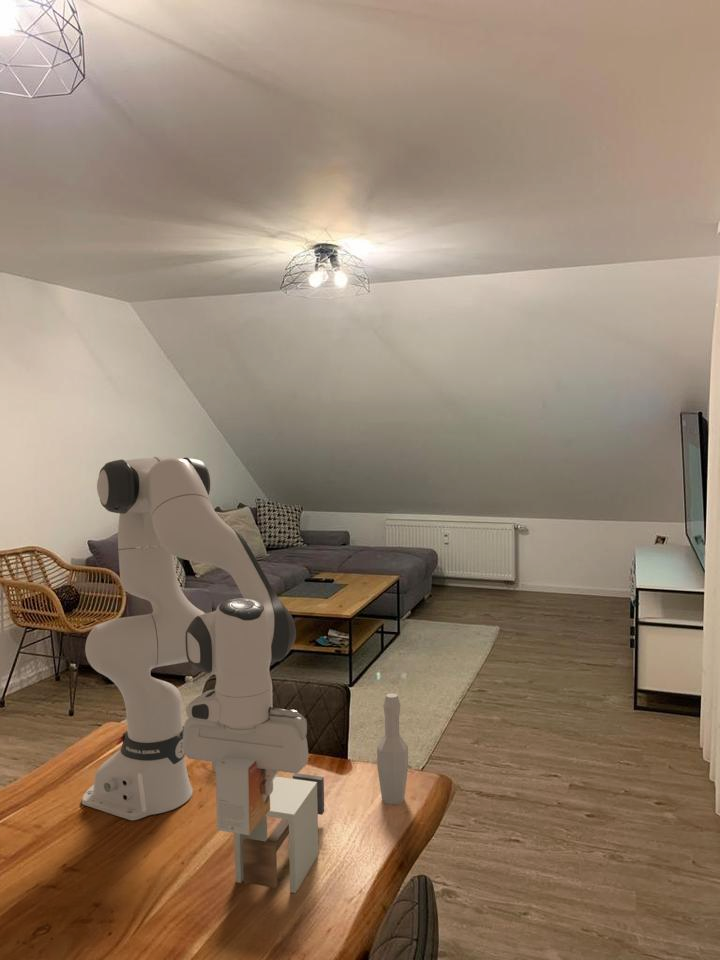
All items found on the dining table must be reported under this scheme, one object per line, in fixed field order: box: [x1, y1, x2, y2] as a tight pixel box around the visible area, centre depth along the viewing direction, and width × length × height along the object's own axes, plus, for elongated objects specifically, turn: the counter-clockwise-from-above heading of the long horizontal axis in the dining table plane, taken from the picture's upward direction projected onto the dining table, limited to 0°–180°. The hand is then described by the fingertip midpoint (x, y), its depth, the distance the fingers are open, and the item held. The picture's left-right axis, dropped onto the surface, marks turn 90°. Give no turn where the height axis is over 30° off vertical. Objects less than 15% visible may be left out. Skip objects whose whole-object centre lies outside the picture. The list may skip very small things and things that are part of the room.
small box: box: [215, 757, 270, 835], centre depth 109 cm, size 8×6×10 cm
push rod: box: [242, 772, 325, 889], centre depth 126 cm, size 6×24×7 cm, turn 164°
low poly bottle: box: [376, 693, 409, 806], centre depth 144 cm, size 6×6×22 cm
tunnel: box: [233, 776, 319, 894], centre depth 122 cm, size 11×11×14 cm
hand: (246, 790), depth 110 cm, fingers closed on small box, 6 cm apart
